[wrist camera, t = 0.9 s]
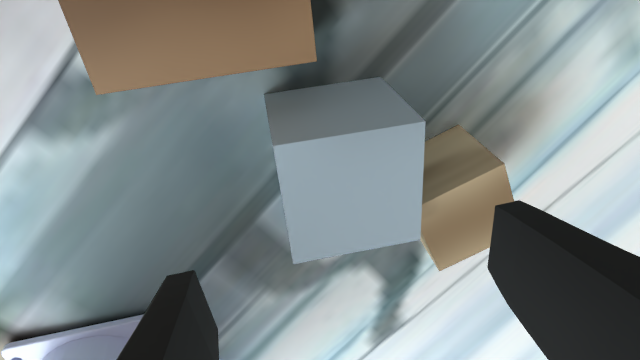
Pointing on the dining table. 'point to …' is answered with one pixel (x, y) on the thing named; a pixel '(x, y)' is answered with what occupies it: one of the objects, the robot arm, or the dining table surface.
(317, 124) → the light grey cube
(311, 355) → the dining table surface
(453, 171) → the oak block
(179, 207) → the dining table surface
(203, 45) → the walnut base
